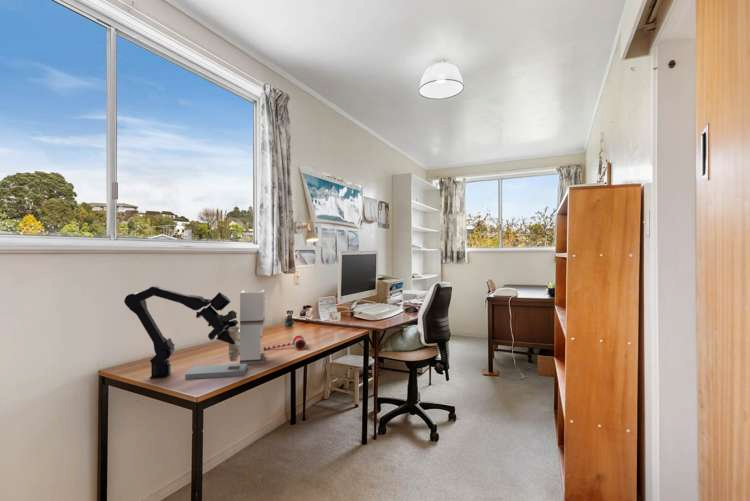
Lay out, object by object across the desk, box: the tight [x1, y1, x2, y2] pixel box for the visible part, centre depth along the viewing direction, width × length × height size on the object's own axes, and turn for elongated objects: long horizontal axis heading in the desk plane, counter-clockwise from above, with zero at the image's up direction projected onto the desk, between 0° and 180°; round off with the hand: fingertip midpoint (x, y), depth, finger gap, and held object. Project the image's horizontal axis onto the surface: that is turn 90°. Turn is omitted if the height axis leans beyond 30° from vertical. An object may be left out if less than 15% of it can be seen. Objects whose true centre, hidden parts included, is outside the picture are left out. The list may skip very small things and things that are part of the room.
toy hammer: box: [263, 334, 307, 351], centre depth 210 cm, size 23×12×6 cm, turn 108°
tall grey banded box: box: [239, 289, 266, 365], centre depth 186 cm, size 11×11×35 cm
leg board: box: [184, 363, 248, 380], centre depth 167 cm, size 24×11×2 cm, turn 101°
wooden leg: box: [228, 326, 240, 362], centre depth 168 cm, size 4×4×15 cm
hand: (236, 342), depth 168 cm, fingers closed on wooden leg, 4 cm apart
